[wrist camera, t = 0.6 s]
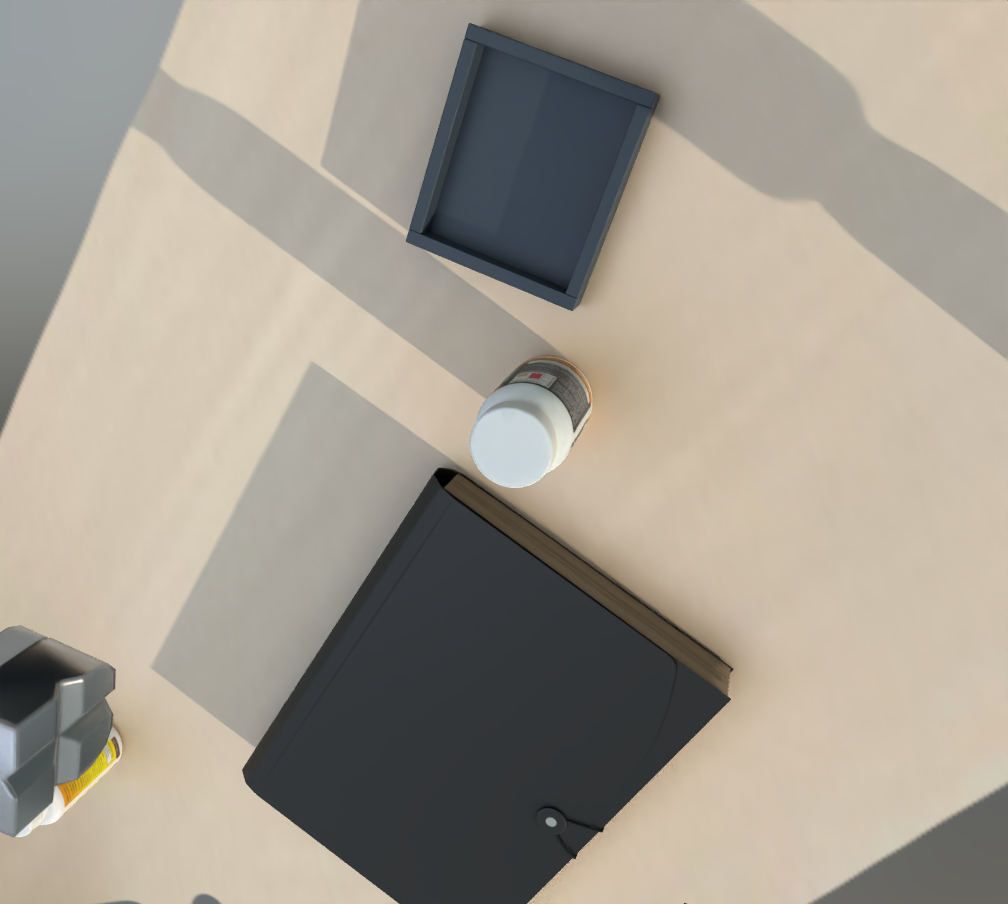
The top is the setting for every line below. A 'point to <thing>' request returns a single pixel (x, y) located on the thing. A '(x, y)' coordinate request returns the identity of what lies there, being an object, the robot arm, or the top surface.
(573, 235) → the tray
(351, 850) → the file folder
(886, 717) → the top surface
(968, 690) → the top surface
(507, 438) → the pill bottle
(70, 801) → the supplement bottle
